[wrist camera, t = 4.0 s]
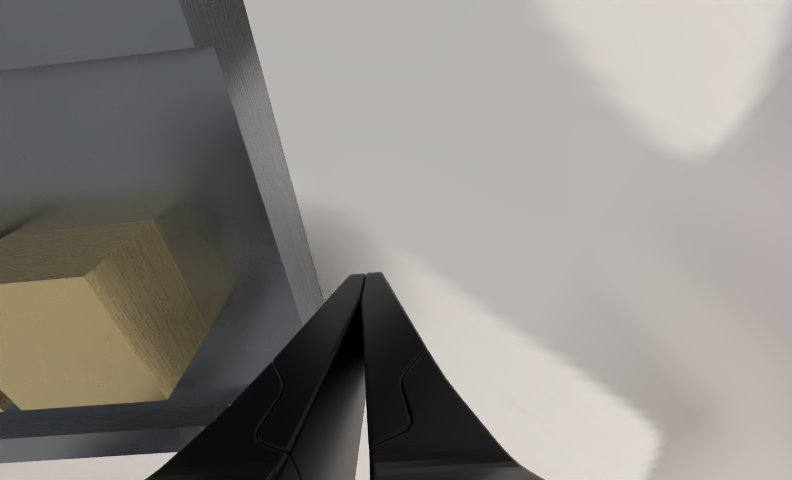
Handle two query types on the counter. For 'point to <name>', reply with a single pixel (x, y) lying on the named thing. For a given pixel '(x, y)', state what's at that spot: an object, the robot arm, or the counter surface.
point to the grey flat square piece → (154, 192)
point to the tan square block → (93, 316)
